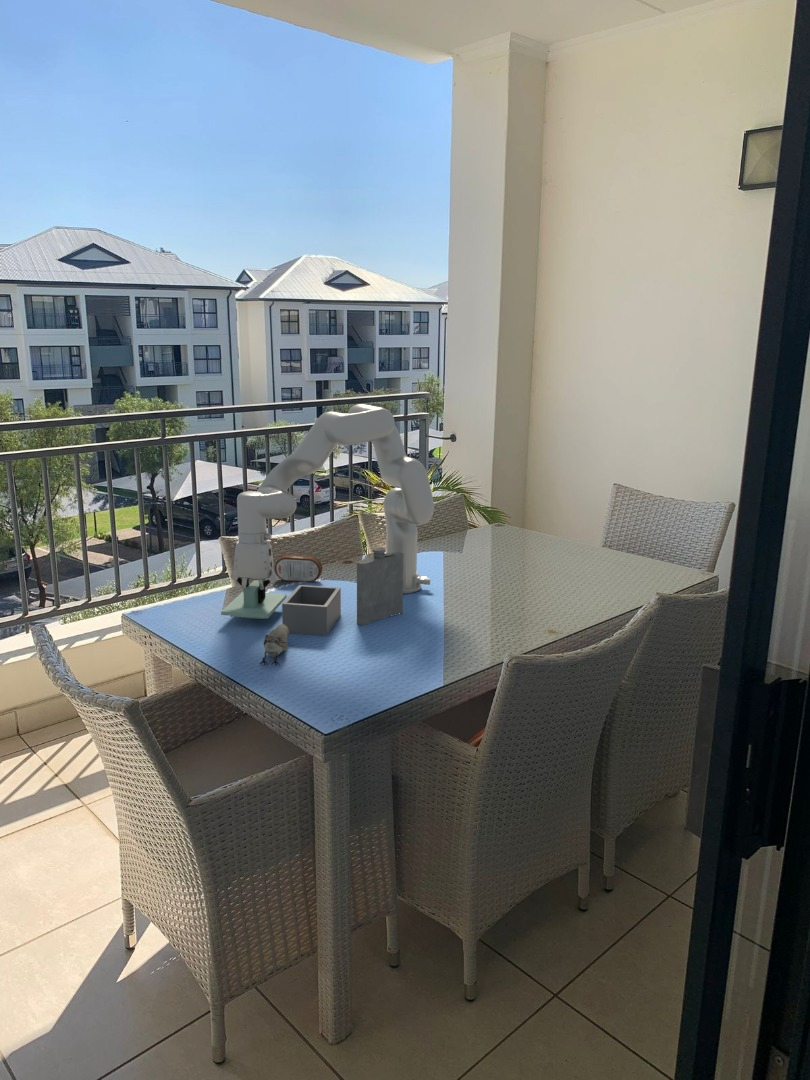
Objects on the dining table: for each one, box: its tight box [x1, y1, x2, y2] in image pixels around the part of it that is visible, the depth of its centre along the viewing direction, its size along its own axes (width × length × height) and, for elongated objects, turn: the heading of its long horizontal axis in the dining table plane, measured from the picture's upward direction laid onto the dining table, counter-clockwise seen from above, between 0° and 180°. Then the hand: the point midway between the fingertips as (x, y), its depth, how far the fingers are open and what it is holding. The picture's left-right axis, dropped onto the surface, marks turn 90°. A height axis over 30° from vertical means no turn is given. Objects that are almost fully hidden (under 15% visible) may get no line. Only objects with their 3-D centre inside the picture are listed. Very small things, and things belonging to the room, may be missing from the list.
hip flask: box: [356, 546, 404, 626], centre depth 218 cm, size 16×4×20 cm, turn 133°
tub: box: [281, 584, 342, 637], centre depth 214 cm, size 12×16×8 cm
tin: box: [274, 554, 323, 583], centre depth 249 cm, size 15×3×8 cm, turn 84°
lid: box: [220, 579, 288, 620], centre depth 218 cm, size 13×17×7 cm
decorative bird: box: [259, 623, 290, 667], centre depth 193 cm, size 5×16×8 cm, turn 176°
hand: (254, 600), depth 218 cm, fingers closed on lid, 3 cm apart
